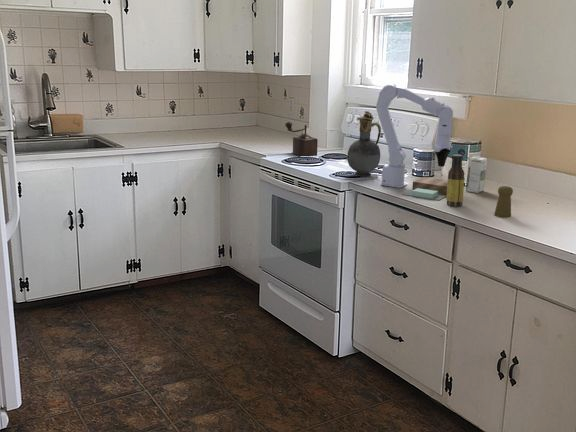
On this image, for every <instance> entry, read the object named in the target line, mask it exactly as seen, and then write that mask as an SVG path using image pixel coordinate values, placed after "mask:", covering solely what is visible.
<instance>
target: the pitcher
mask: <svg viewBox="0 0 576 432" xmlns="http://www.w3.org/2000/svg"><path fill="white" fill-rule="evenodd" d="M373 120H374V115H373V114H372V112H370V111H369V110H368V111H367V110H366V111H364V112H363V116H360V117H358V116H357V117H356V121H359V139H358V140H356V141H354V142H353V143H351V144H350V145H349V147H348V151H347V155H346V157H347V158H346V159H347V163H348V167H350V168H351V169H352V170H353V171H354V172H355V173H354V176H355V175H357V176H356V177H358V176H360V178H361V177H362V178H367V176H368V177H371V176H372V173H371V172H373V171H375V170H376V169H377V168H378V166H379V164H380V161H381V149H380V147H379V145H378V143H379V141H380V137H381V134H382V126H381V123H379V122H377V121H373ZM374 126H376V127H377V130H378V133H377V139H376V142H375V141H372V140H371V132H372V128H373V127H374Z"/></svg>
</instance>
